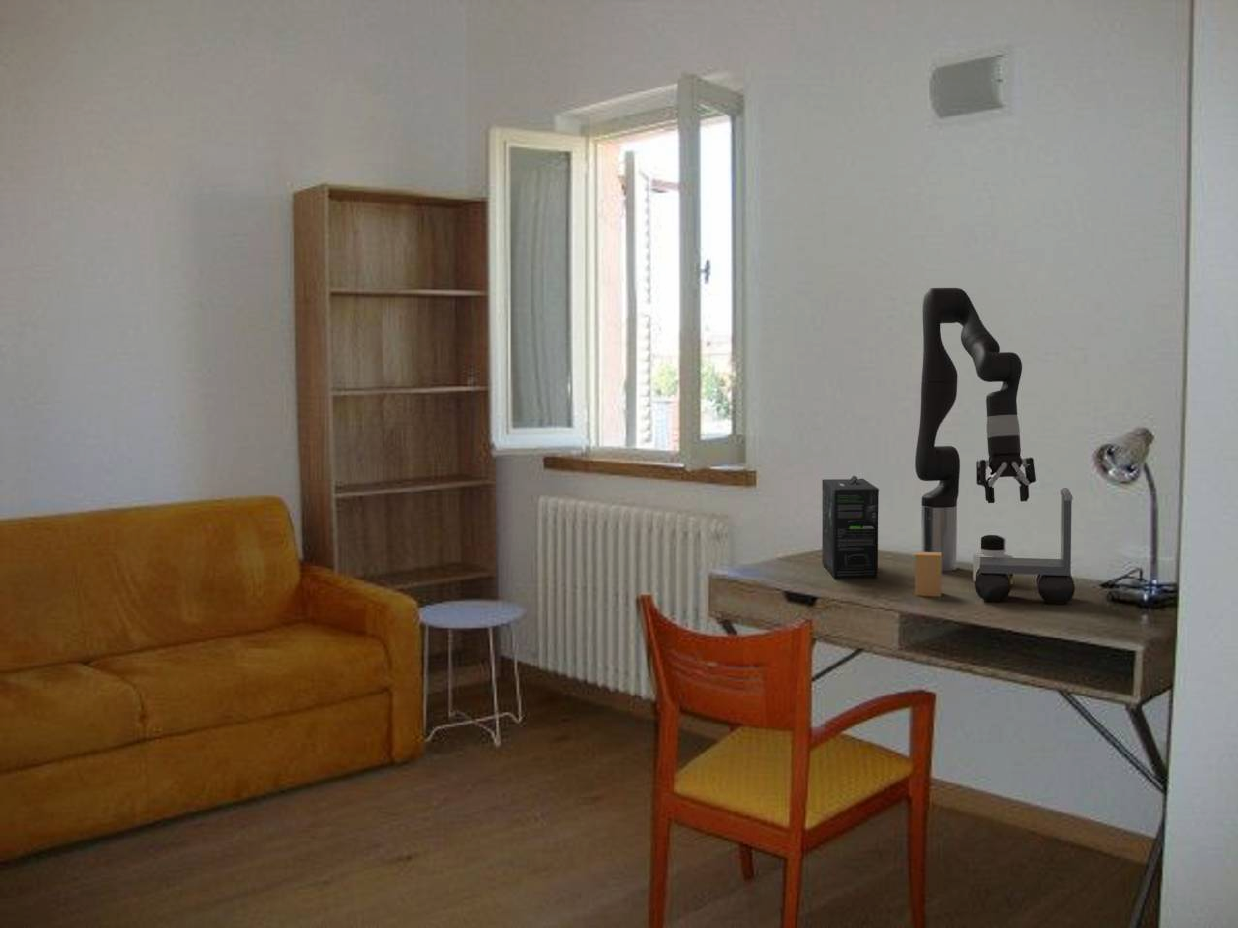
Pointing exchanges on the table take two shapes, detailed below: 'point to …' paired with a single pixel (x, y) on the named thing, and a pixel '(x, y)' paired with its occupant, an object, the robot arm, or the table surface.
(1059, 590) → the trolley
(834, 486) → the headset box
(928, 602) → the table surface
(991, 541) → the medicine bottle
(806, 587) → the table surface
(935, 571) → the light orange block
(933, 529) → the robot arm
